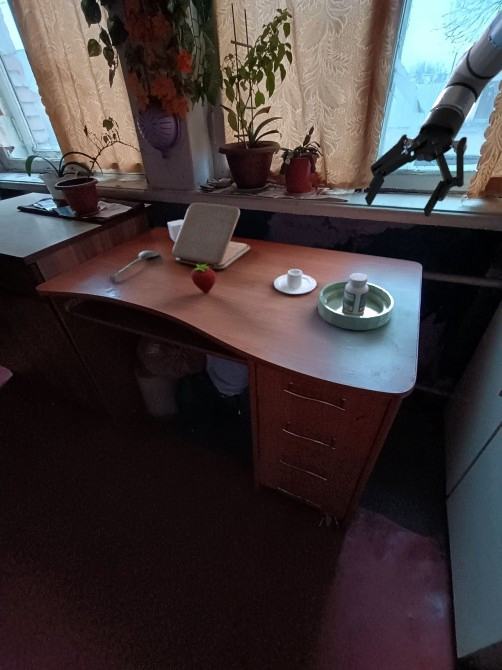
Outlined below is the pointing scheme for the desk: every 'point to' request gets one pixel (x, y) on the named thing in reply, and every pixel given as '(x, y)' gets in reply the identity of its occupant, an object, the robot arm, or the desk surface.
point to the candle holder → (295, 282)
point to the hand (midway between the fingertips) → (395, 207)
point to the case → (209, 236)
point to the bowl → (372, 317)
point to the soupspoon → (141, 256)
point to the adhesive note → (174, 228)
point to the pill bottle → (355, 294)
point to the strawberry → (203, 278)
